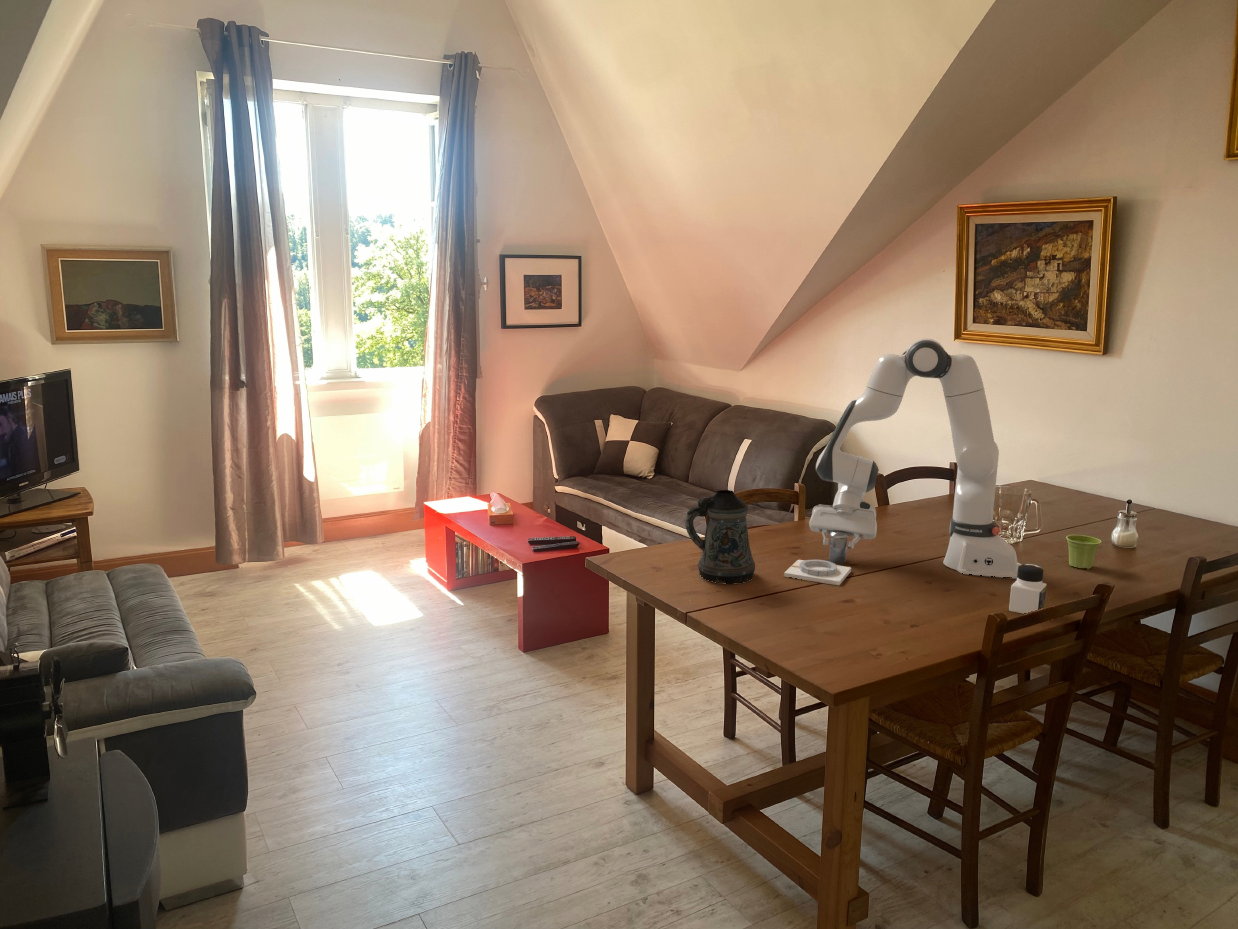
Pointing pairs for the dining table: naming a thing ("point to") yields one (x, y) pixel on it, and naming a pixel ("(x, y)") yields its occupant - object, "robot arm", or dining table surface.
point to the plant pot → (1082, 550)
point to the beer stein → (723, 538)
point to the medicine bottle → (1028, 590)
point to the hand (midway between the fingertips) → (837, 546)
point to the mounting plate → (819, 578)
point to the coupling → (838, 546)
